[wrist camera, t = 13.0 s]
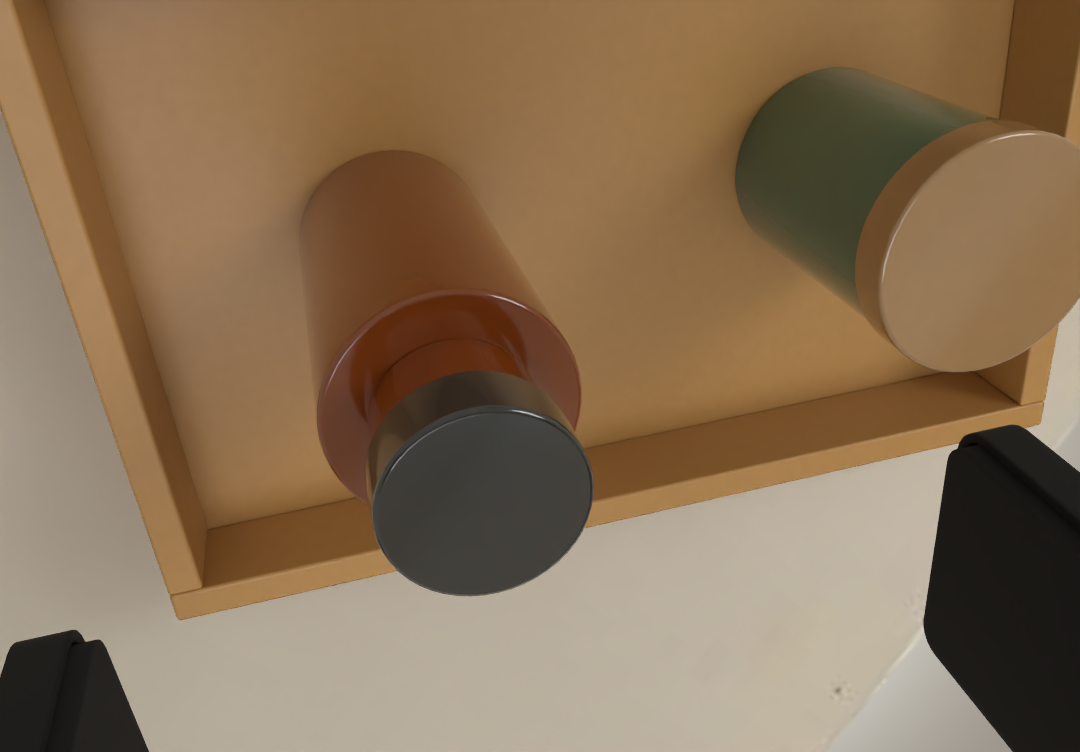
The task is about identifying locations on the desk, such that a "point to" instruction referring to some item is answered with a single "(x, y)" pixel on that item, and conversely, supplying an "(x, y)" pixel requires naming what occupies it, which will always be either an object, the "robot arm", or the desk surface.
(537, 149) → the tray
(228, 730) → the desk surface
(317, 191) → the spice bottle
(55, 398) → the desk surface
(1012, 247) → the jar
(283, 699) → the desk surface
